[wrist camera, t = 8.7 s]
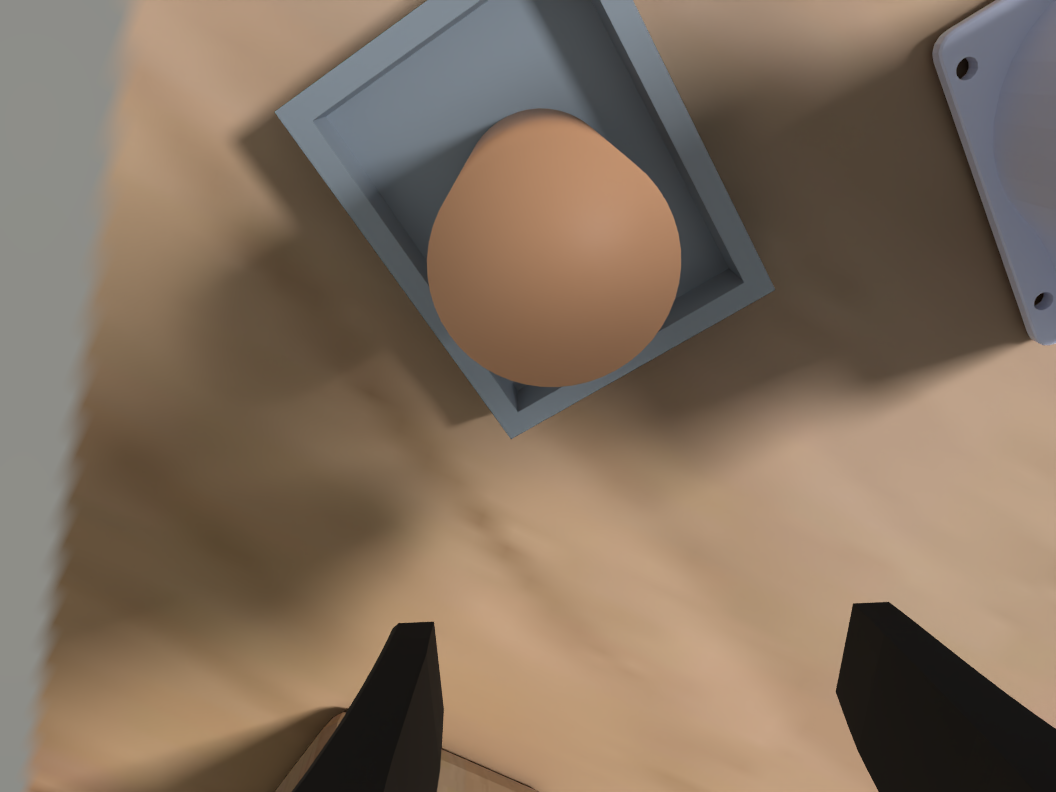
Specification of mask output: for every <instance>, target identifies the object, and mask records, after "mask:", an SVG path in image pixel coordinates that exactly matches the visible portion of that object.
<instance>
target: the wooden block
mask: <svg viewBox="0 0 1056 792" xmlns="http://www.w3.org/2000/svg"><path fill="white" fill-rule="evenodd" d="M345 714H346V712H342V713H340V714H339V715H337V716H335V717H333V718H332V719H331V720H330V721H329V723H328V724H327V725H326V726H325V727H324V728H323V729H322V730H321V732H320V733H319V734H318V736H317V737H316V738H315V740H314V741H313V742H312V743H311V745H310V746H309V747H308V749H307V750H306V751H305V753H304V754H303V755H302V757H301V758H300V759H299V760H298V762H297V763H296V764H295V766H294V767H293V768H292V770H291V771H290V772H289V774H288V775H287V776H286V777H285V779H284V780H283V781H282V783H281V784H280V785H279V787H278V788H277V789H276V791H275V792H292V790H293V789H294V788H295V786H296V785H297V784H298V782H299V781H300V780H301V778H302V777H303V776H304V774H305V773H306V772H307V770H308V769H309V767H310V766H311V764H312V763H313V762H314V760H315V759H316V757H317V756H318V754H319V753H320V751H321V750H322V749H323V747H324V746H325V744H326V743H327V741H328V740H329V738H330V737H331V736H332V734H333V733H334V731H335V730H336V728H337V727H338V725H339V723H340V722H341V720H342V719H343V717H344V715H345ZM437 792H539V791H536V790H534V789H532V788H530V787H527V786H525V785H523V784H520V783H518V782H516V781H514V780H511V779H509V778H507V777H504V776H502V775H500V774H497V773H495V772H493V771H491V770H488V769H486V768H484V767H481V766H479V765H477V764H475V763H472V762H470V761H468V760H465V759H463V758H461V757H458V756H456V755H454V754H452V753H449V752H447V751H445V750H441V766H440V775H439V781H438V788H437Z"/></svg>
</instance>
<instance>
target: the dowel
mask: <svg viewBox="0 0 1056 792" xmlns="http://www.w3.org/2000/svg"><path fill="white" fill-rule="evenodd" d="M680 271H681V247H680V241H679V234H678V230H677V227H676V223H675V220H674V217H673V215H672V212H671V210H670V208H669V206H668V203H667V201H666V200H665V198H664V197H663V195H662V194H661V192H660V190H659V189H658V187H657V186H656V185H655V184H654V183H653V181H652V180H651V179H650V178H649V177H648V175H647V174H646V173H644V172H643V171H642V170H641V169H640V168H639V167H638V166H637V165H636V164H634V163H633V162H632V161H631V160H630V159H629V158H627V157H626V156H625V155H624V154H623V153H621V152H620V151H619V150H618V149H617V148H615V147H614V146H613V145H612V144H611V143H609V142H608V141H607V140H606V139H605V138H604V137H602V136H601V135H600V134H599V133H598V132H596V131H595V130H594V129H593V128H592V127H590V126H589V125H588V124H587V123H585V122H584V121H582V120H581V119H579V118H577V117H575V116H573V115H571V114H569V113H566V112H562V111H559V110H554V109H543V108H537V109H528V110H524V111H520V112H517V113H514V114H512V115H509V116H507V117H505V118H504V119H502V120H500V121H498V122H497V123H496V124H494V125H493V126H492V127H491V128H489V129H488V131H487V132H486V133H485V134H484V135H483V136H482V137H481V138H480V140H479V141H478V142H477V144H476V145H475V147H474V149H473V151H472V152H471V154H470V156H469V158H468V159H467V161H466V163H465V165H464V167H463V168H462V170H461V172H460V174H459V176H458V177H457V179H456V181H455V183H454V185H453V186H452V188H451V190H450V192H449V194H448V195H447V197H446V199H445V201H444V202H443V204H442V206H441V208H440V210H439V212H438V214H437V217H436V219H435V222H434V224H433V227H432V231H431V236H430V240H429V245H428V254H427V276H428V282H429V289H430V293H431V297H432V300H433V303H434V307H435V309H436V311H437V313H438V316H439V318H440V320H441V322H442V324H443V325H444V327H445V329H446V330H447V332H448V333H449V335H450V336H451V337H452V339H453V340H454V341H455V342H456V344H457V345H458V346H459V347H460V348H461V349H462V350H463V351H464V352H465V353H466V354H467V355H468V356H469V357H470V358H471V359H473V360H474V361H476V362H477V363H478V364H480V365H481V366H482V367H484V368H486V369H487V370H489V371H491V372H493V373H494V374H496V375H499V376H501V377H504V378H506V379H508V380H511V381H515V382H518V383H522V384H526V385H532V386H539V387H563V386H573V385H577V384H582V383H586V382H590V381H592V380H595V379H598V378H601V377H603V376H605V375H607V374H609V373H611V372H614V371H616V370H617V369H619V368H620V367H622V366H623V365H625V364H626V363H628V362H629V361H631V360H632V359H633V358H634V357H635V356H637V355H638V354H639V353H640V352H641V351H642V350H643V349H644V348H645V347H646V346H647V345H648V344H649V343H650V342H651V341H652V340H653V338H654V337H655V335H656V334H657V333H658V331H659V330H660V329H661V327H662V325H663V324H664V322H665V320H666V318H667V316H668V315H669V313H670V310H671V307H672V305H673V302H674V300H675V297H676V293H677V289H678V285H679V280H680Z"/></svg>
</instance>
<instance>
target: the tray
mask: <svg viewBox="0 0 1056 792" xmlns="http://www.w3.org/2000/svg"><path fill="white" fill-rule="evenodd" d="M537 108H543V109H554V110H559V111H562V112H566V113H569V114H571V115H573V116H575V117H577V118H579V119H581V120H582V121H584V122H585V123H587V124H588V125H589V126H590V127H592V128H593V129H594V130H595V131H596V132H598V133H599V134H600V135H601V136H602V137H604V138H605V139H606V140H607V141H608V142H609V143H611V144H612V145H613V146H614V147H615V148H617V149H618V150H619V151H620V152H621V153H623V154H624V155H625V156H626V157H627V158H629V159H630V160H631V161H632V162H633V163H634V164H636V165H637V166H638V167H639V168H640V169H641V170H642V171H643V172H644V173H646V174H647V175H648V177H649V178H650V179H651V180H652V181H653V183H654V184H655V185H656V186H657V187H658V189H659V190H660V192H661V194H662V195H663V197H664V198H665V200H666V201H667V203H668V206H669V208H670V210H671V212H672V215H673V217H674V220H675V223H676V227H677V230H678V234H679V241H680V247H681V271H680V280H679V285H678V289H677V293H676V297H675V300H674V302H673V305H672V307H671V310H670V313H669V315H668V316H667V318H666V320H665V322H664V324H663V325H662V327H661V329H660V330H659V331H658V333H657V334H656V335H655V337H654V338H653V340H652V341H651V342H650V343H649V344H648V345H647V346H646V347H645V348H644V349H643V350H642V351H641V352H640V353H639V354H638V355H637V356H635V357H634V358H633V359H632V360H631V361H629V362H628V363H626V364H625V365H623V366H622V367H620V368H619V369H617V370H616V371H614V372H611V373H609V374H607V375H605V376H603V377H601V378H598V379H595V380H592V381H590V382H586V383H582V384H577V385H573V386H563V387H539V386H532V385H526V384H522V383H518V382H515V381H511V380H508V379H506V378H504V377H501V376H499V375H496V374H494V373H493V372H491V371H489V370H487V369H486V368H484V367H482V366H481V365H480V364H478V363H477V362H476V361H474V360H473V359H471V358H470V357H469V356H468V355H467V354H466V353H465V352H464V351H463V350H462V349H461V348H460V347H459V346H458V345H457V344H456V342H455V341H454V340H453V339H452V337H451V336H450V335H449V333H448V332H447V330H446V329H445V327H444V325H443V324H442V322H441V320H440V318H439V316H438V313H437V311H436V309H435V307H434V303H433V300H432V297H431V293H430V289H429V282H428V276H427V254H428V245H429V240H430V236H431V231H432V227H433V224H434V222H435V219H436V217H437V214H438V212H439V210H440V208H441V206H442V204H443V202H444V201H445V199H446V197H447V195H448V194H449V192H450V190H451V188H452V186H453V185H454V183H455V181H456V179H457V177H458V176H459V174H460V172H461V170H462V168H463V167H464V165H465V163H466V161H467V159H468V158H469V156H470V154H471V152H472V151H473V149H474V147H475V145H476V144H477V142H478V141H479V140H480V138H481V137H482V136H483V135H484V134H485V133H486V132H487V131H488V129H489V128H491V127H492V126H493V125H494V124H496V123H497V122H498V121H500V120H502V119H504V118H505V117H507V116H509V115H512V114H514V113H517V112H520V111H524V110H528V109H537ZM275 113H276V115H277V116H278V117H279V119H280V120H281V122H282V123H283V124H284V126H285V127H286V129H287V130H288V131H289V133H290V134H291V135H292V137H293V138H294V140H295V141H296V142H297V144H298V145H299V147H300V148H301V149H302V151H303V152H304V153H305V155H306V156H307V158H308V159H309V160H310V162H311V163H312V165H313V166H314V167H315V169H316V170H317V171H318V173H319V174H320V176H321V177H322V178H323V180H324V181H325V183H326V184H327V185H328V187H329V188H330V189H331V191H332V192H333V194H334V195H335V196H336V198H337V199H338V200H339V202H340V203H341V205H342V206H343V207H344V209H345V210H346V212H347V213H348V214H349V216H350V217H351V218H352V220H353V221H354V223H355V224H356V225H357V227H358V228H359V230H360V231H361V232H362V234H363V235H364V236H365V238H366V239H367V241H368V242H369V243H370V245H371V246H372V248H373V249H374V250H375V252H376V253H377V254H378V256H379V257H380V259H381V260H382V261H383V263H384V264H385V265H386V267H387V268H388V270H389V271H390V272H391V274H392V275H393V277H394V278H395V279H396V281H397V282H398V283H399V285H400V286H401V288H402V289H403V290H404V292H405V293H406V295H407V296H408V297H409V299H410V300H411V301H412V303H413V304H414V306H415V307H416V308H417V310H418V311H419V313H420V314H421V315H422V317H423V318H424V319H425V321H426V322H427V324H428V325H429V326H430V328H431V329H432V330H433V332H434V333H435V335H436V336H437V337H438V339H439V340H440V342H441V343H442V344H443V346H444V347H445V348H446V350H447V351H448V353H449V354H450V355H451V357H452V358H453V360H454V361H455V362H456V364H457V365H458V366H459V368H460V369H461V371H462V372H463V373H464V375H465V376H466V378H467V379H468V380H469V382H470V383H471V384H472V386H473V387H474V389H475V390H476V391H477V393H478V394H479V395H480V397H481V398H482V400H483V401H484V402H485V404H486V405H487V407H488V408H489V409H490V411H491V412H492V413H493V415H494V416H495V418H496V419H497V420H498V422H499V423H500V425H501V426H502V427H503V429H504V430H505V431H506V433H507V434H508V436H509V437H510V438H511V439H512V438H514V437H516V436H517V435H519V434H521V433H523V432H525V431H526V430H528V429H530V428H532V427H533V426H535V425H537V424H539V423H540V422H542V421H544V420H546V419H548V418H549V417H551V416H553V415H555V414H556V413H558V412H560V411H562V410H563V409H565V408H567V407H569V406H571V405H572V404H574V403H576V402H578V401H579V400H581V399H583V398H585V397H586V396H588V395H590V394H592V393H594V392H595V391H597V390H599V389H601V388H602V387H604V386H606V385H608V384H609V383H611V382H613V381H615V380H617V379H618V378H620V377H622V376H624V375H625V374H627V373H629V372H631V371H632V370H634V369H636V368H638V367H640V366H641V365H643V364H645V363H647V362H648V361H650V360H652V359H654V358H655V357H657V356H659V355H661V354H663V353H664V352H666V351H668V350H670V349H671V348H673V347H675V346H677V345H679V344H680V343H682V342H684V341H686V340H687V339H689V338H691V337H693V336H694V335H696V334H698V333H700V332H702V331H703V330H705V329H707V328H709V327H710V326H712V325H714V324H716V323H717V322H719V321H721V320H723V319H725V318H726V317H728V316H730V315H732V314H733V313H735V312H737V311H739V310H740V309H742V308H744V307H746V306H748V305H749V304H751V303H753V302H755V301H756V300H758V299H760V298H762V297H763V296H765V295H767V294H769V293H771V292H772V291H774V290H775V288H774V286H773V284H772V282H771V280H770V278H769V276H768V274H767V272H766V270H765V268H764V266H763V264H762V261H761V259H760V257H759V255H758V253H757V251H756V249H755V247H754V245H753V243H752V241H751V239H750V237H749V235H748V233H747V231H746V229H745V227H744V225H743V223H742V221H741V219H740V217H739V215H738V213H737V211H736V209H735V207H734V205H733V203H732V201H731V199H730V197H729V195H728V192H727V190H726V188H725V186H724V184H723V182H722V180H721V178H720V176H719V174H718V172H717V170H716V168H715V166H714V164H713V162H712V160H711V158H710V156H709V154H708V152H707V150H706V148H705V146H704V144H703V142H702V140H701V138H700V136H699V134H698V132H697V130H696V128H695V126H694V124H693V121H692V119H691V117H690V115H689V113H688V111H687V109H686V107H685V105H684V103H683V101H682V99H681V97H680V95H679V93H678V91H677V89H676V87H675V85H674V83H673V81H672V79H671V77H670V75H669V73H668V71H667V69H666V67H665V65H664V63H663V61H662V59H661V57H660V55H659V52H658V50H657V48H656V46H655V44H654V42H653V40H652V38H651V36H650V34H649V32H648V30H647V28H646V26H645V24H644V22H643V20H642V18H641V16H640V14H639V12H638V10H637V8H636V6H635V4H634V2H633V0H427V1H426V2H424V3H423V4H422V5H420V6H419V7H418V8H416V9H415V10H413V11H412V12H411V13H409V14H408V15H407V16H405V17H404V18H402V19H401V20H400V21H398V22H397V23H396V24H394V25H393V26H391V27H390V28H389V29H387V30H386V31H385V32H383V33H382V34H381V35H379V36H378V37H376V38H375V39H374V40H372V41H371V42H370V43H368V44H367V45H365V46H364V47H363V48H361V49H360V50H359V51H357V52H356V53H354V54H353V55H352V56H350V57H349V58H348V59H346V60H345V61H344V62H342V63H341V64H339V65H338V66H337V67H335V68H334V69H333V70H331V71H330V72H328V73H327V74H326V75H324V76H323V77H322V78H320V79H319V80H317V81H316V82H315V83H313V84H312V85H311V86H309V87H308V88H306V89H305V90H304V91H302V92H301V93H300V94H298V95H297V96H296V97H294V98H293V99H291V100H290V101H289V102H287V103H286V104H285V105H283V106H282V107H280V108H279V109H278V110H276V111H275Z"/></svg>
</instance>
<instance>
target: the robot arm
mask: <svg viewBox="0 0 1056 792" xmlns="http://www.w3.org/2000/svg"><path fill="white" fill-rule="evenodd" d="M932 55H933V62H934V65H935V68H936V71H937V73H938V76H939V79H940V82H941V85H942V88H943V91H944V94H945V97H946V99H947V102H948V105H949V108H950V111H951V114H952V117H953V120H954V123H955V125H956V128H957V131H958V134H959V137H960V140H961V143H962V146H963V149H964V151H965V154H966V157H967V160H968V163H969V166H970V169H971V172H972V175H973V177H974V180H975V183H976V186H977V189H978V192H979V195H980V198H981V200H982V203H983V206H984V209H985V212H986V215H987V218H988V221H989V224H990V226H991V229H992V232H993V235H994V238H995V241H996V244H997V247H998V250H999V252H1000V255H1001V258H1002V261H1003V264H1004V267H1005V270H1006V273H1007V276H1008V278H1009V281H1010V284H1011V287H1012V290H1013V293H1014V296H1015V299H1016V302H1017V304H1018V307H1019V310H1020V313H1021V316H1022V319H1023V322H1024V325H1025V328H1026V330H1027V333H1028V335H1029V337H1030V338H1031V339H1032V340H1034V341H1036V342H1038V343H1040V344H1042V345H1052V344H1055V343H1056V0H995V1H993V2H992V3H990V4H989V5H987V6H985V7H984V8H982V9H980V10H979V11H977V12H975V13H974V14H972V15H971V16H969V17H967V18H966V19H964V20H962V21H961V22H959V23H957V24H956V25H954V26H953V27H951V28H949V29H948V30H946V31H945V32H944V33H943V34H941V35H940V36H939V38H938V39H937V41H936V43H935V44H934V48H933V52H932ZM964 58H966V59H967V61H968V63H969V69H968V71H967V73H966V75H964V76H963V77H962V78H961V79H959V78H958V76H957V75H956V68H957V66H958V64H959V62H960V61H961V60H962V59H964ZM1041 293H1044V297H1043V299H1042V301H1041V302H1040V303H1038V304H1037V305H1034V301H1035V299H1036V297H1037V296H1038V295H1040V294H1041ZM836 694H837V696H838V699H839V702H840V705H841V708H842V710H843V713H844V716H845V719H846V721H847V724H848V727H849V729H850V732H851V734H852V737H853V740H854V742H855V745H856V747H857V750H858V752H859V754H860V756H861V758H862V760H863V762H864V764H865V766H866V768H867V770H868V772H869V774H870V776H871V778H872V780H873V782H874V784H875V785H876V787H877V789H878V791H879V792H1056V729H1055V728H1054V727H1052V726H1051V725H1049V724H1048V723H1047V722H1045V721H1044V720H1042V719H1041V718H1039V717H1038V716H1036V715H1035V714H1034V713H1032V712H1031V711H1030V710H1028V709H1027V708H1025V707H1024V706H1023V705H1021V704H1020V703H1019V702H1017V701H1016V700H1015V699H1013V698H1012V697H1010V696H1009V695H1008V694H1006V693H1005V692H1004V691H1002V690H1001V689H1000V688H998V687H997V686H996V685H995V684H993V683H992V682H991V681H989V680H988V679H987V678H985V677H984V676H983V675H981V674H980V673H979V672H978V671H976V670H975V669H974V668H972V667H971V666H970V665H969V664H967V663H966V662H965V661H963V660H962V659H961V658H960V657H958V656H957V655H956V654H955V653H953V652H952V651H951V650H949V649H948V648H947V647H946V646H944V645H943V644H942V643H941V642H939V641H938V640H937V639H936V638H934V637H933V636H932V635H931V634H929V633H928V632H927V631H925V630H924V629H923V628H922V627H920V626H919V625H918V624H917V623H915V622H914V621H913V620H912V619H910V618H909V617H908V616H906V615H905V614H904V613H903V612H901V611H900V610H899V609H897V608H896V607H895V606H893V605H892V604H891V603H889V602H878V603H855V604H853V607H852V612H851V617H850V622H849V627H848V632H847V637H846V642H845V648H844V653H843V658H842V663H841V668H840V673H839V678H838V683H837V688H836ZM443 713H444V707H443V698H442V689H441V680H440V672H439V663H438V654H437V645H436V636H435V627H434V622H417V623H398V624H397V625H396V626H395V627H394V628H393V629H392V631H391V633H390V635H389V637H388V640H387V642H386V644H385V646H384V648H383V650H382V652H381V653H380V655H379V657H378V659H377V661H376V663H375V665H374V667H373V668H372V670H371V672H370V674H369V675H368V677H367V679H366V681H365V682H364V684H363V686H362V688H361V689H360V691H359V693H358V694H357V696H356V698H355V699H354V701H353V702H352V704H351V706H350V707H349V709H348V711H347V712H346V714H345V715H344V717H343V719H342V720H341V722H340V723H339V725H338V727H337V728H336V730H335V731H334V733H333V734H332V736H331V737H330V738H329V740H328V741H327V743H326V744H325V746H324V747H323V749H322V750H321V751H320V753H319V754H318V756H317V757H316V759H315V760H314V762H313V763H312V764H311V766H310V767H309V769H308V770H307V772H306V773H305V774H304V776H303V777H302V778H301V780H300V781H299V782H298V784H297V785H296V786H295V788H294V789H293V790H292V792H437V788H438V781H439V775H440V766H441V750H442V732H443Z"/></svg>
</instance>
